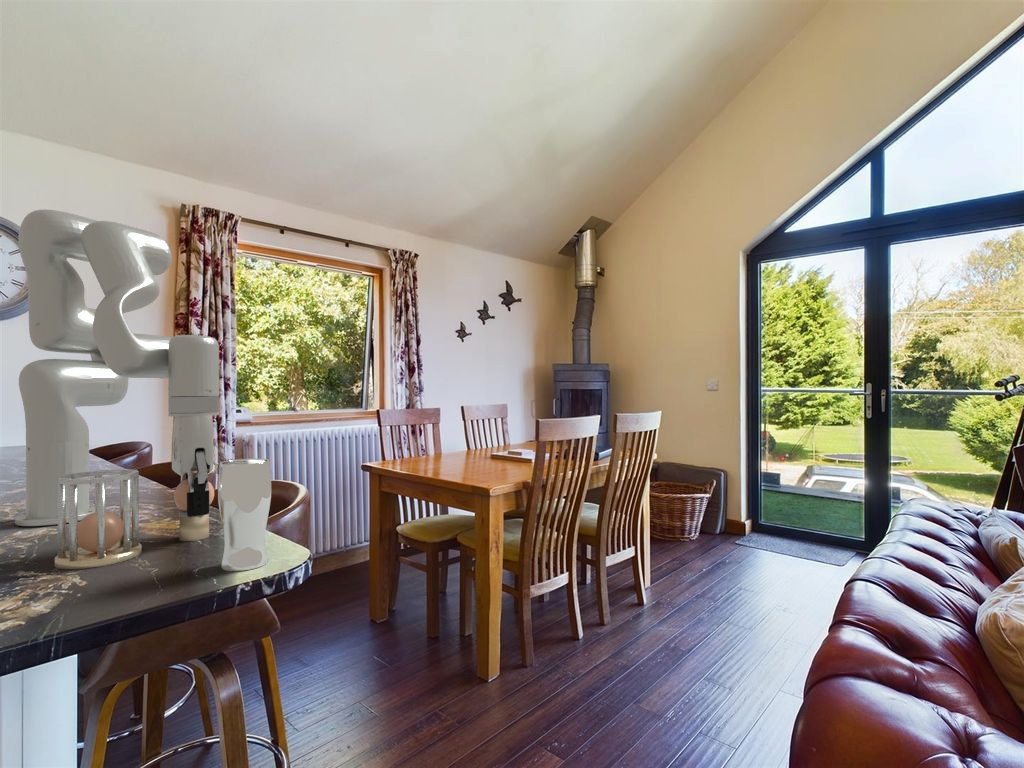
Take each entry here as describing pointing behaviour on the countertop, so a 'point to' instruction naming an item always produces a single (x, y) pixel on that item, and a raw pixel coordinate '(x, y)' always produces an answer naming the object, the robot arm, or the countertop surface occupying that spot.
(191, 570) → the countertop surface
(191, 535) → the stand
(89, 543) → the ball
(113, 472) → the cage tube
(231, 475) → the beer glass
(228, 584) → the countertop surface
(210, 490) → the terracotta ball
